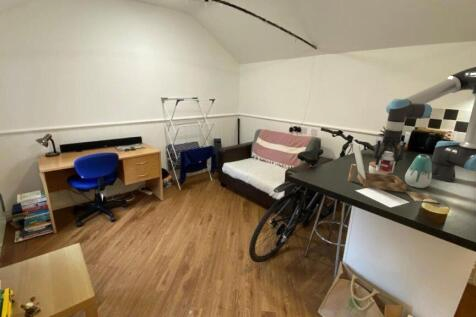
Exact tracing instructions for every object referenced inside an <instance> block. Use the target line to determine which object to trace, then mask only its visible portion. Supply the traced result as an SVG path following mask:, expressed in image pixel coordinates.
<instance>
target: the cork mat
mask: <svg viewBox="0 0 476 317" xmlns="http://www.w3.org/2000/svg"><path fill="white" fill-rule="evenodd" d="M405 193H406V194H407V195H408V196H409V197H410V198H411V199H413V200H414V201H415V202H421V203H423V202H422V201H423V200H424V199H432V200H436V198H434V197H433V196H431V195H430V194H428V193H425V192H424V193H423V192H417V191H416V192H414V191H407V190H406V192H405Z"/></svg>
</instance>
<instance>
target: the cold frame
mask: <svg viewBox="0 0 476 317" xmlns="http://www.w3.org/2000/svg"><path fill="white" fill-rule="evenodd" d="M356 168H357V163H351V165H350V168H349V174H348V178H347V181H348V182H354V177H355V172H356ZM357 172H358V171H357ZM365 177H366V179H364V178H363V177H362V175H361V174H360V173H359V172H358V173H357V177H356V178H357V179H358V181H359V182H360V183H361V185H362V186H363V187H364V188H368V189H369V188H370V189H378V190H385V191H394V192H401V193H406V191H407V189H408V186H409V185H408V184H407V183H406V182H404V181H403V180H402V179H401V178H399V176H397V175H394V174H393V175H392V174H387V175H385V174H377V173H370V172H369V171H368V172H367V171H365Z"/></svg>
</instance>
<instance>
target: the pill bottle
mask: <svg viewBox="0 0 476 317" xmlns="http://www.w3.org/2000/svg"><path fill="white" fill-rule="evenodd" d="M393 154H394V153H393V151H387V150H385V152H384V154H383V155H382V157H381V158H380V160H381V164H380V169H379V172H382V173H387V174H391V169H392V165H393V161H394V157H393Z"/></svg>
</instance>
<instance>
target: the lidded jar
mask: <svg viewBox="0 0 476 317" xmlns="http://www.w3.org/2000/svg"><path fill="white" fill-rule="evenodd" d="M375 162H376V161H370V162H369V166H368V173H377V174H385V175H388V173H382V172H378V171H376V166H377V165H376V164H375Z"/></svg>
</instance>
